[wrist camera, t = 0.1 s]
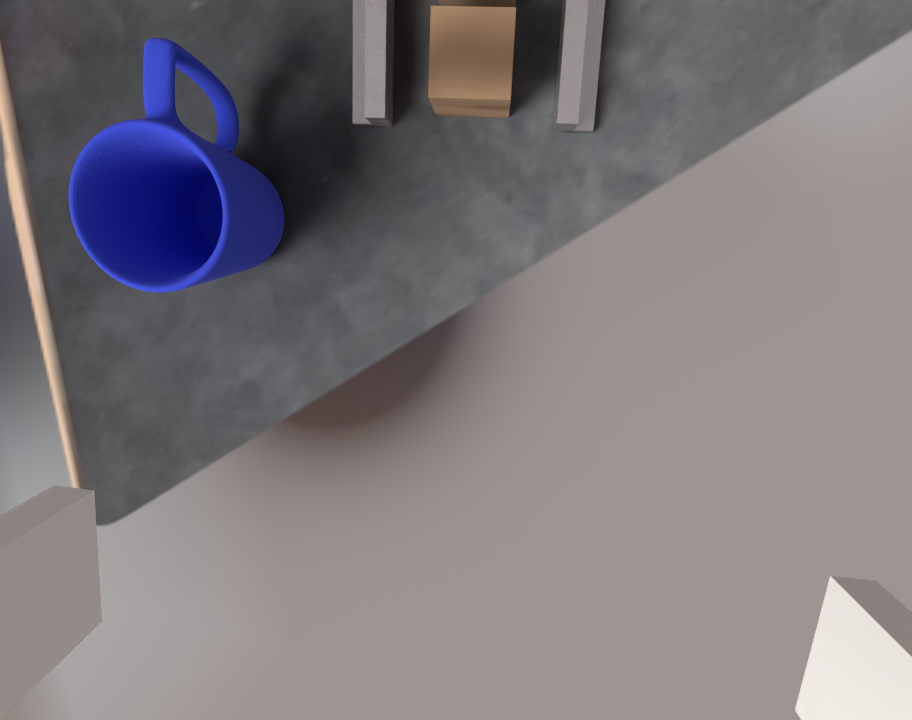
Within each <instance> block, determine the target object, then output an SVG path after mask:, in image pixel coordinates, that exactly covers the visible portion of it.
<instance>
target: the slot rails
mask: <svg viewBox="0 0 912 720" xmlns="http://www.w3.org/2000/svg"><path fill="white" fill-rule="evenodd" d="M604 9H605V0H562V13H561V26H560V39H559V53H558V66H557V79H556V93H555V106H554V119H553V132H580V133H592V132H593V130H594V119H595V108H596V97H597V86H598V75H599V64H600V53H601V42H602V31H603V20H604ZM394 15H395V0H353V124H354V125H359V126H391V127H393V75H394Z"/></svg>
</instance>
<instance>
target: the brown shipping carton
mask: <svg viewBox="0 0 912 720" xmlns="http://www.w3.org/2000/svg"><path fill="white" fill-rule="evenodd" d="M515 20H516V7H474V6H431V19H430V53H429V87H428V98H429V100H430V102H431V104H432V107H433V109H434V111H435V113H436V115H443V116H476V117H509V111H510V102H511V87H512V70H513V53H514V36H515Z"/></svg>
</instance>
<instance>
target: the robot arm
mask: <svg viewBox="0 0 912 720" xmlns="http://www.w3.org/2000/svg"><path fill="white" fill-rule="evenodd" d="M101 622H102V615H101V598H100V582H99V566H98V548H97V532H96V515H95V498H94V490H86V489H78V488H69V487H60V486H53V487H51V488H49V489H47V490H45V491H44V492H42V493H40V494H38V495H37V496H35V497H33V498H31V499H29V500H28V501H26V502H24V503H22V504H20V505H18V506H17V507H15V508H13V509H11V510H9V511H8V512H6V513H4V514H2V515H0V719H1V718H2V717H3V716H4V715H6V714H7V712H9V711H10V710H11V709H12V708H13V706H15V705H16V704H17V703H18V702H19V701H20V700H21V699H22V698H23V697H24V696H25V695H26V694H27V693H28V692H29V691H30V690H31V689H32V688H33V687H35V685H37V684H38V683H39V682H40V681H41V680H42V679H43V678H44V677H45V676H46V675H47V674H48V673H49V672H50V671H51V670H52V669H53V668H54V667H55V666H56V665H57V664H58V663H59V662H60V661H61V660H62V659H63V658H64V657H65V656H67V654H69V653H70V652H71V651H72V650H73V649H74V648H75V647H76V646H77V645H78V644H79V643H80V642H81V641H82V640H83V639H84V638H85V637H86V636H87V635H88V634H89V633H90V632H91V631H92V630H94V628H96V627H97V625H99V623H101ZM795 711H796V712H797V714H798V716H799V717H800V719H801V720H912V612H910V610H908V609H907V608H906V607H905V606H904V605H903V604H902V603H901V602H899V601H898V600H897V599H896V598H895V597H894V596H893V595H892V594H890V593H889V592H888V591H887V590H886V589H885V588H884V587H882V586H881V585H880V584H879V583H878V582H877V581H871V580H863V579H854V578H845V577H836V576H830V579H829V583H828V587H827V591H826V595H825V599H824V602H823V606H822V610H821V614H820V617H819V621H818V625H817V629H816V633H815V636H814V640H813V644H812V648H811V652H810V655H809V659H808V663H807V667H806V671H805V674H804V678H803V682H802V686H801V690H800V693H799V697H798V701H797V705H796V709H795Z"/></svg>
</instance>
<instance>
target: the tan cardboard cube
mask: <svg viewBox="0 0 912 720" xmlns="http://www.w3.org/2000/svg"><path fill="white" fill-rule="evenodd" d="M438 2H439V6H474V7H515V5H516V0H438Z"/></svg>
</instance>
